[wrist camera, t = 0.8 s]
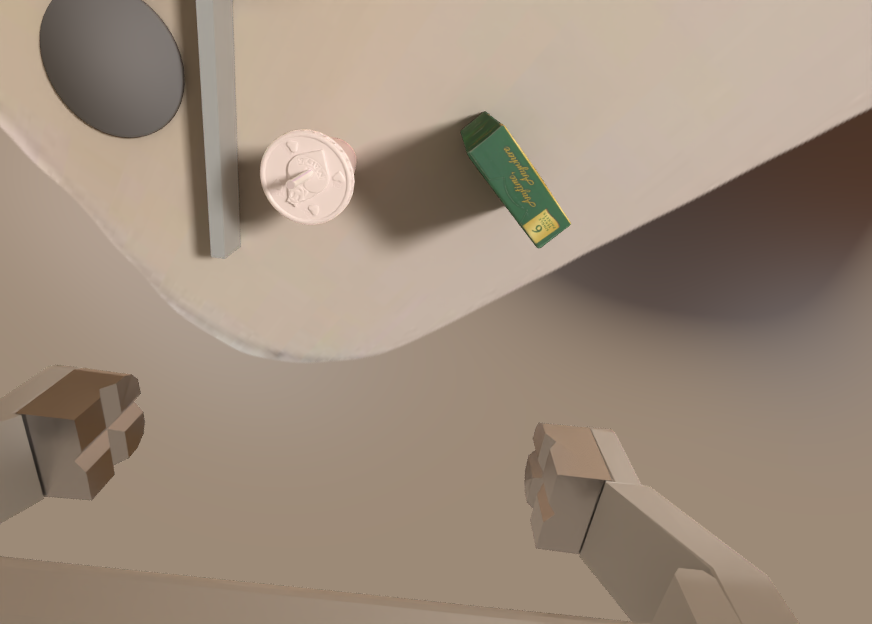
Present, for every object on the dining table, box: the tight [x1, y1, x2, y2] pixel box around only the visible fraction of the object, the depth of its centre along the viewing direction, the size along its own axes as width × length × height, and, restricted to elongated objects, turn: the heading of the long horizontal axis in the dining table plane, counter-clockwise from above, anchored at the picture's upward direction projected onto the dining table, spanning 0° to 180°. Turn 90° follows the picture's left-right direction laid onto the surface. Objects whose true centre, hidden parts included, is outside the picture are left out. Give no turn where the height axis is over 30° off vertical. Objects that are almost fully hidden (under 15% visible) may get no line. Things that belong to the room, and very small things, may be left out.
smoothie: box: [260, 129, 357, 225], centre depth 36 cm, size 6×6×14 cm
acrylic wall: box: [196, 0, 241, 259], centre depth 39 cm, size 22×1×4 cm, turn 172°
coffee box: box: [461, 111, 571, 248], centre depth 36 cm, size 8×3×13 cm, turn 38°
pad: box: [40, 0, 184, 137], centre depth 39 cm, size 11×11×1 cm
